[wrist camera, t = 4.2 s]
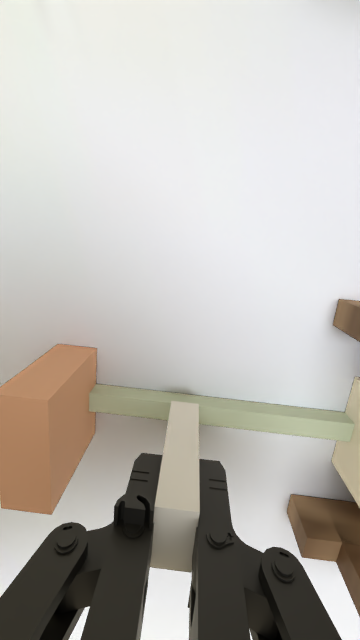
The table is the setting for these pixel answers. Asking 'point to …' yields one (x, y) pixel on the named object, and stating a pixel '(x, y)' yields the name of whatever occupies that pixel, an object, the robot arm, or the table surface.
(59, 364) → the mismatched dumbbell
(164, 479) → the robot arm
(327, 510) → the cubby
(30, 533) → the table surface
